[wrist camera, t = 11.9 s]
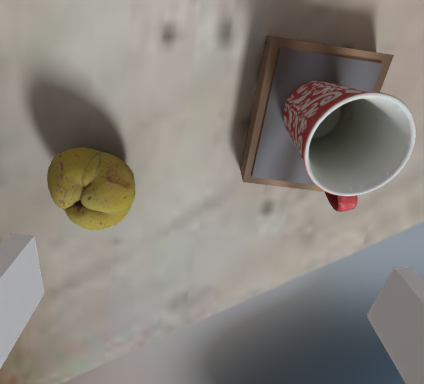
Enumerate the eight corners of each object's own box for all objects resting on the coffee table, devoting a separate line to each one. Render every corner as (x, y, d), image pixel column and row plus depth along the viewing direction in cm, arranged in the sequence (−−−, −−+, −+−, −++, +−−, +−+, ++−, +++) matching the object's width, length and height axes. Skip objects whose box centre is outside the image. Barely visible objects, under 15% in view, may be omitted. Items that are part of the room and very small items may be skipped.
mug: (272, 77, 35) (304, 102, 23) (352, 65, 34) (427, 84, 22) (276, 175, 41) (304, 235, 29) (344, 166, 40) (401, 223, 28)
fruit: (129, 128, 42) (108, 154, 33) (151, 200, 48) (138, 238, 39) (54, 141, 43) (14, 169, 34) (84, 210, 48) (56, 250, 40)
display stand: (240, 169, 45) (243, 182, 41) (266, 35, 37) (273, 36, 33) (330, 180, 46) (341, 194, 42) (376, 52, 38) (395, 55, 34)
